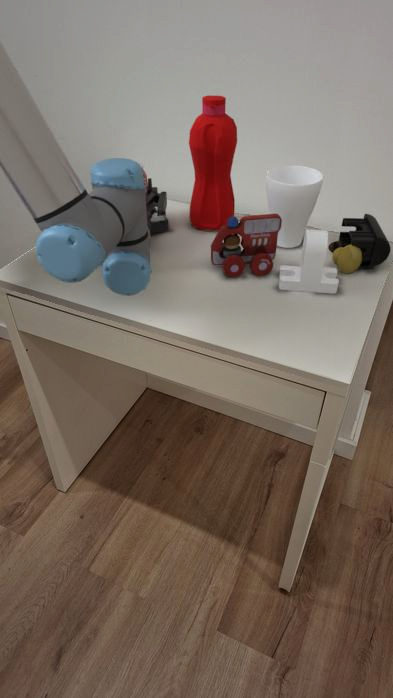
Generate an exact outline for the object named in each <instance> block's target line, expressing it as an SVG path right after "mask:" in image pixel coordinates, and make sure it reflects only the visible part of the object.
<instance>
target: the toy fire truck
mask: <svg viewBox="0 0 393 698" xmlns="http://www.w3.org/2000/svg"><path fill="white" fill-rule="evenodd" d="M281 224H282V219H281V217H280V216H279V215H278V214H270V213H267V214H254V215H244V216H242V217H241V218H240V220H239V219H238V217H236V216H235V215H234V216H231V217H229V218H228V220H227V225H223V226H222V227H221V228H220V229H219V231H217V233H216V235H215V237H214V238H213V241H212V242H211V243H210V262H211V264H212V265H213V266H222V271H223V273H224V274H225V275H226V276H227V277H230V278H237V277H240V276H241V275H242V274H243V273H244V272H245V269H246V264H249V267H250V269H251V271H252V273H253V274H254V275H256V276H265V275H267V274H269V273H270V272H271V271H272V270H273V268H274V259H276V256H277V248H278V246H277V237H278V232H279V230H280V229H281ZM240 237H241V238H240Z"/></svg>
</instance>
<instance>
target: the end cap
mask: <svg viewBox="0 0 393 698" xmlns="http://www.w3.org/2000/svg"><path fill="white" fill-rule="evenodd" d="M341 227H344V228H345V227H346V228H347V227H352V228H355V229H354V230H349V231H339V236H338V245H337V248H339V247H343V248H344V247H345V246H347V245H352V246H356V247H357V248H360V249H361V252H362V262H361V264H360V266H359V267H358V269H357V270H371V269H373V268H376V267H378V266H380V265H382V264H383V263H384V262H385V261H387V259H388V258H389V256H390V254H391V250H392V248H391V244H390V242H389V240H388V238H387V237H386V235H385V232H384V231H383V229H382V227H381V225H380V223H379V221H378V220H377V219H376V217H374V216H373V214H370V213H364V214H363V218H359V217H343V218H342V222H341Z"/></svg>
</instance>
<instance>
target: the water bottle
mask: <svg viewBox="0 0 393 698" xmlns="http://www.w3.org/2000/svg"><path fill="white" fill-rule="evenodd" d="M201 100H202V101H201V104H202V106H201V107H202V108H201V109H202V113H201V114H199V115H198V116H197V117H196V118H195V119H194V122H193V124H192V125H191V127H190V129H189V137H188V145H189V151H190V155H191V160H192V161H191V162H192V165H193V169H194V183H193V188H192V192H191V193H192V194H191V199H190V204H189V220H190V224H191V226H192V227H194V228H195V229H197V230H202V231H217V232H218V231H219V229H220V228H221V227H222V226H223V225H227V220H228V218H229V217H231V216H235V211H236V210H235V209H236V208H235V205H236V203H235V201H236V200H235V195H234V194H235V193H234V189H233V183H232V176H231V174H232V173H231V172H232V167H233V162H234V158H235V154H236V153H235V152H236V149H237V144H238V126H237V125H236V122H235V120H234V118H232V116H230V115H228V114H227V113H226V101H227V98H226V97H225V96H223V95H212V94H211V95H208V94H207V95H206V96H205V95H204V96H203V97H202V99H201Z"/></svg>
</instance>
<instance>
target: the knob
mask: <svg viewBox="0 0 393 698" xmlns="http://www.w3.org/2000/svg"><path fill="white" fill-rule="evenodd" d="M331 255H332V256H331V260H332V262H333V264H334V265H336V266H337V269H338V270H339V271H340V272H342V273H343V274H352V273H354V272H355V271H357V270H359V269H358V267H359V266H360V264H361V262H362V252H361V249H360V248H357V247H356V246H352V245H347V246H345V247H344V248H343V247H339V248H338V247H337V248H336V249H335V250H334V251H333V252H332V254H331Z"/></svg>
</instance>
